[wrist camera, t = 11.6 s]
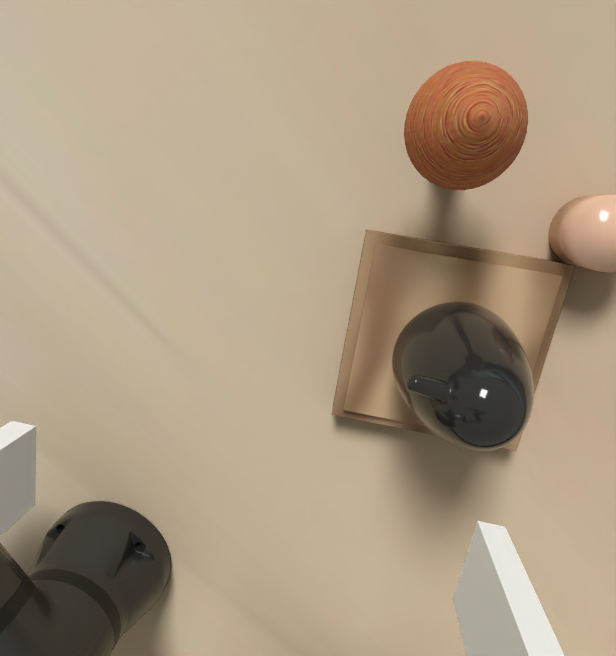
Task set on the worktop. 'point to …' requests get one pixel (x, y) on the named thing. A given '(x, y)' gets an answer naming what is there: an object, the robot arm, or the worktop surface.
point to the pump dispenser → (464, 375)
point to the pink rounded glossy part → (586, 233)
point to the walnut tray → (429, 290)
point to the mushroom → (466, 125)
